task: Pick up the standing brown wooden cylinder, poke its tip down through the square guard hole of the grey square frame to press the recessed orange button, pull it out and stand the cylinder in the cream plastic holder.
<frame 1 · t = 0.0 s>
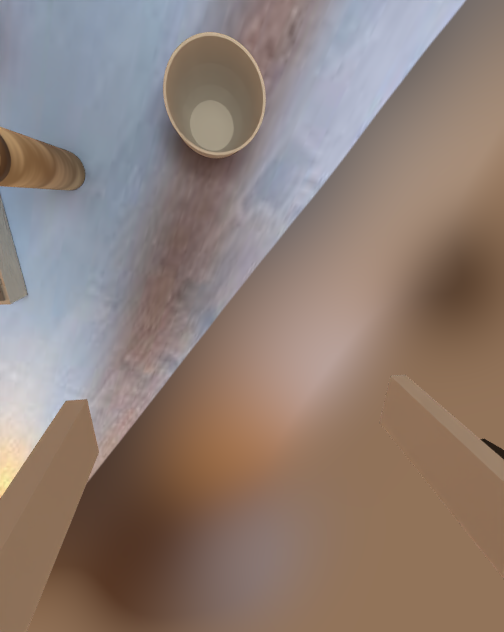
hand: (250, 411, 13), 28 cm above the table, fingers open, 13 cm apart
cup: (211, 126, 33), on the table
brown wooden cylinder: (65, 170, 32), on the table
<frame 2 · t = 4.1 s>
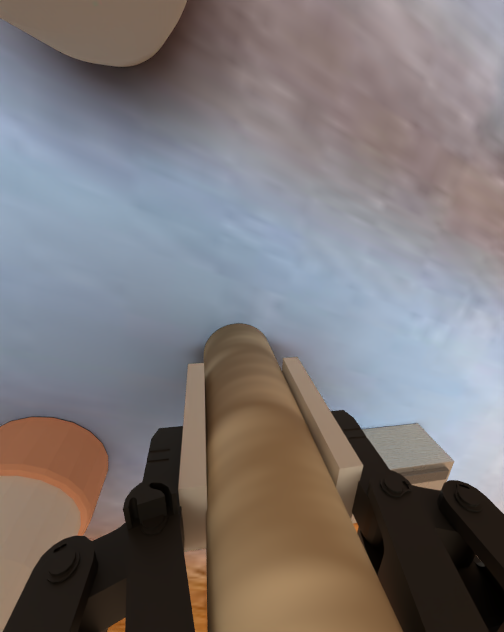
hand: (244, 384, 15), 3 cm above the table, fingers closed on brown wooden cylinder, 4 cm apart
salt shaker: (48, 460, 18), on the table
button: (333, 541, 22), point 3 cm above the table, slide at 0.0 cm
grey square frame: (319, 507, 24), on the table
brown wooden cylinder: (237, 353, 18), on the table, touching gripper
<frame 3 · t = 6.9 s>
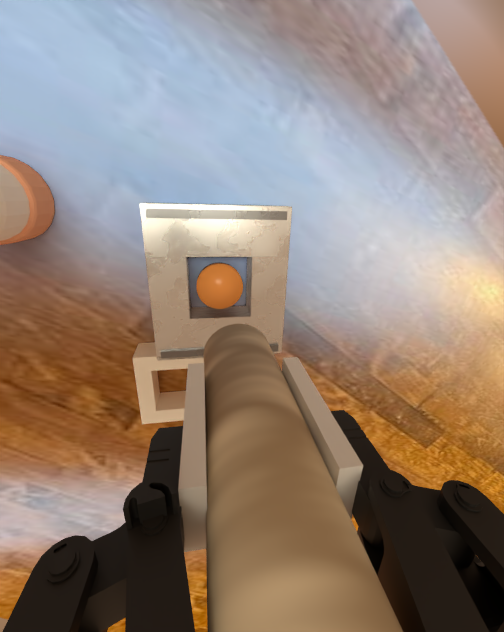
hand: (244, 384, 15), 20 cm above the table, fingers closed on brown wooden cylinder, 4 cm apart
holder: (180, 372, 37), on the table
salt shaker: (12, 199, 27), on the table
button: (219, 286, 31), point 3 cm above the table, slide at 0.0 cm
grey square frame: (218, 279, 33), on the table
brown wooden cylinder: (237, 354, 18), point 17 cm above the table, touching gripper
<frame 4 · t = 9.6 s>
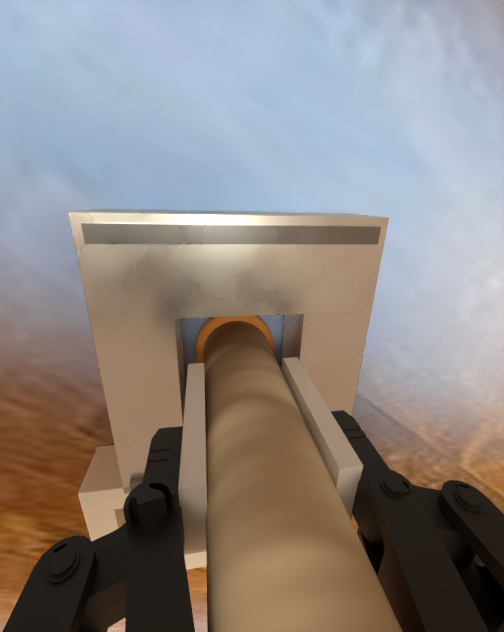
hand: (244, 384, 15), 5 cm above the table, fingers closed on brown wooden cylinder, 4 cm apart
holder: (169, 484, 23), on the table
button: (234, 346, 18), point 1 cm above the table, slide at 2.1 cm, touching brown wooden cylinder
grey square frame: (234, 342, 19), on the table
brown wooden cylinder: (236, 350, 18), point 1 cm above the table, touching button, gripper
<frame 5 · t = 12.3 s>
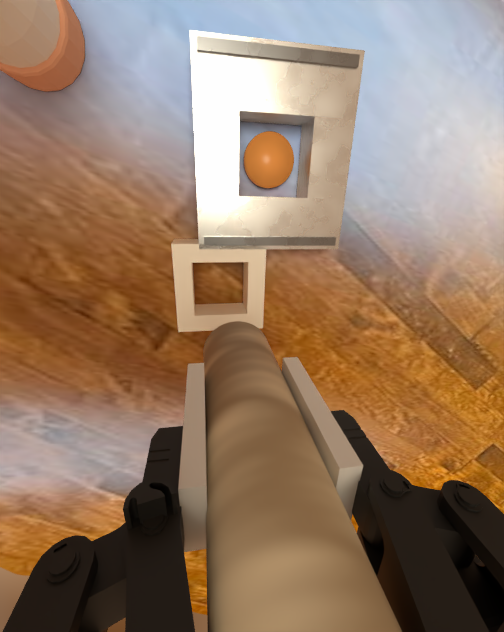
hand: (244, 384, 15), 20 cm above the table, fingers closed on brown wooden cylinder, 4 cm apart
holder: (218, 280, 32), on the table
salt shaker: (36, 36, 23), on the table
button: (268, 161, 28), point 1 cm above the table, slide at 2.1 cm
grey square frame: (267, 161, 29), on the table
brown wooden cylinder: (236, 351, 18), point 16 cm above the table, touching gripper
when the fingers open (5 cm above the table, at t = 14.6 s): brown wooden cylinder stays where it is, resting in holder.
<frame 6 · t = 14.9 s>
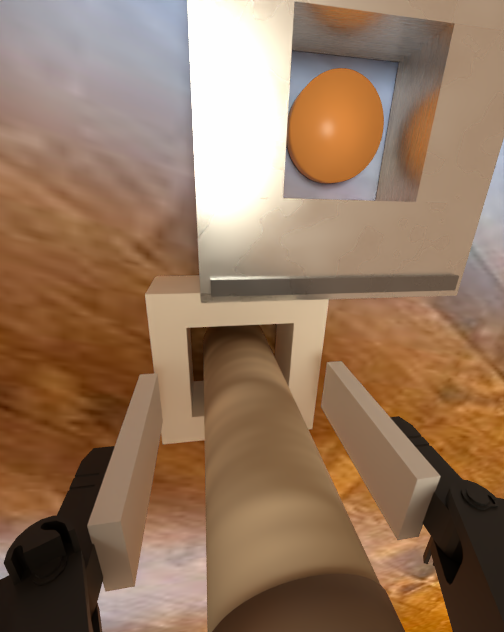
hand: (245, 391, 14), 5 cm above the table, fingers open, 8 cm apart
holder: (234, 342, 19), on the table
button: (334, 130, 15), point 1 cm above the table, slide at 2.1 cm
grey square frame: (329, 133, 15), on the table
brown wooden cylinder: (234, 342, 19), resting in holder
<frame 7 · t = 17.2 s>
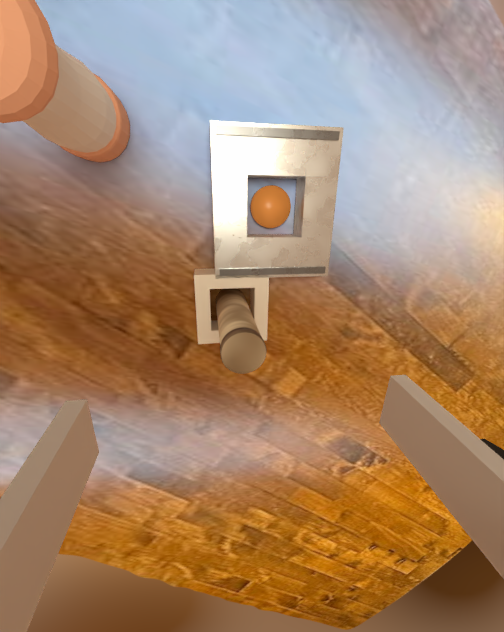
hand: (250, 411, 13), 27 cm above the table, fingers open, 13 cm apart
holder: (230, 300, 39), on the table
salt shaker: (94, 123, 30), on the table
button: (270, 207, 35), point 1 cm above the table, slide at 2.1 cm
grey square frame: (269, 207, 36), on the table
brown wooden cylinder: (230, 301, 39), resting in holder
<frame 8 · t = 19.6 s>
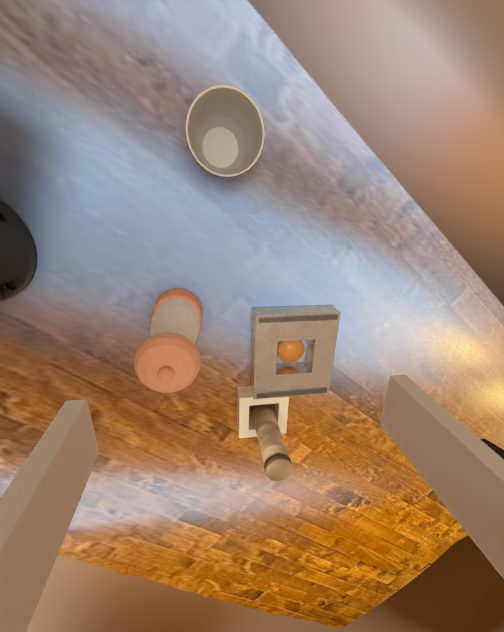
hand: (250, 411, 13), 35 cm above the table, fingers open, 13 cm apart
holder: (260, 404, 56), on the table
salt shaker: (178, 309, 47), on the table
button: (290, 349, 52), point 1 cm above the table, slide at 2.1 cm
cup: (220, 148, 39), on the table
grey square frame: (289, 347, 53), on the table
brown wooden cylinder: (260, 404, 56), resting in holder
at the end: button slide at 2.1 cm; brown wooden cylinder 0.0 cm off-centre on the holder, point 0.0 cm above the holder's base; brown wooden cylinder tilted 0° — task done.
